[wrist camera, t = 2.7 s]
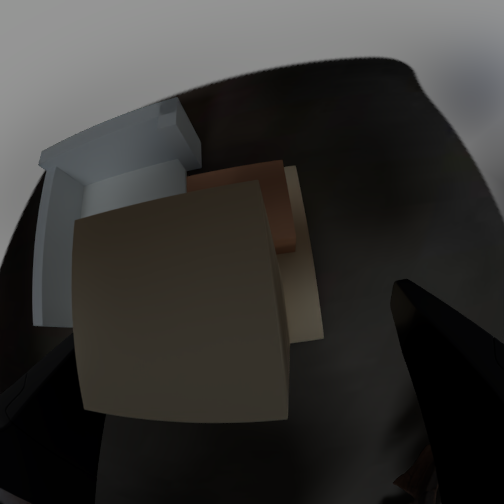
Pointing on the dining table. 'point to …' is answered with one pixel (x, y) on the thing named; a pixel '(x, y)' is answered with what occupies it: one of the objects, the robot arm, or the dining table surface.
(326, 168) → the dining table surface
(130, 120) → the bay
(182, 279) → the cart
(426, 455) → the pottery mug
